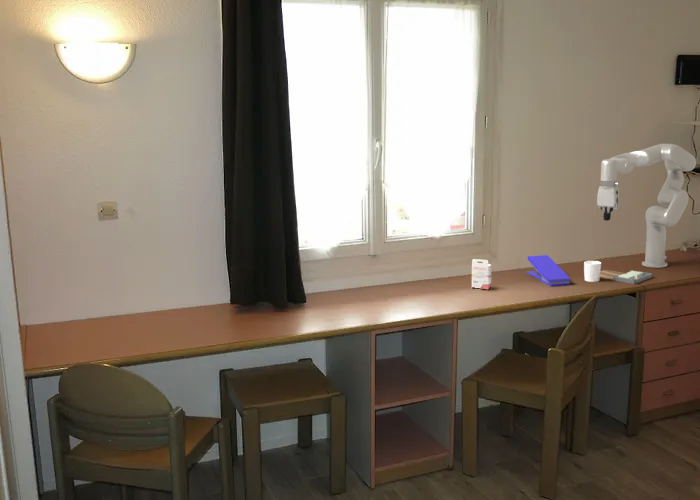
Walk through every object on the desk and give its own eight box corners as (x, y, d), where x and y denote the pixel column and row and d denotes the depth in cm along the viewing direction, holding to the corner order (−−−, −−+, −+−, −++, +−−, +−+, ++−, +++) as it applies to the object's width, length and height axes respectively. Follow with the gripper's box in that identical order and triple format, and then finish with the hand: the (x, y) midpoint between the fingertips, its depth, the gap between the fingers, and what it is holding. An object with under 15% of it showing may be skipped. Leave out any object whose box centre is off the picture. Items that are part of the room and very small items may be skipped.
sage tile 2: (632, 276, 360) (632, 270, 359) (642, 278, 356) (642, 272, 355) (626, 278, 356) (626, 272, 356) (637, 280, 352) (637, 274, 352)
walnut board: (604, 272, 372) (604, 269, 372) (629, 276, 362) (629, 273, 362) (588, 277, 362) (588, 275, 362) (613, 282, 352) (613, 279, 352)
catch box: (630, 275, 363) (630, 270, 362) (652, 279, 355) (652, 273, 354) (612, 282, 352) (613, 276, 351) (635, 286, 343) (635, 280, 343)
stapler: (545, 272, 377) (545, 254, 375) (571, 285, 350) (572, 265, 348) (524, 274, 374) (525, 255, 372) (549, 287, 347) (550, 267, 345)
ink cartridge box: (491, 288, 349) (491, 258, 346) (488, 290, 344) (488, 260, 341) (474, 286, 353) (474, 256, 350) (471, 288, 348) (471, 259, 345)
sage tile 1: (624, 279, 354) (624, 273, 354) (634, 281, 350) (634, 275, 350) (618, 281, 351) (618, 275, 350) (628, 283, 347) (629, 277, 346)
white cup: (597, 285, 348) (598, 264, 346) (581, 283, 352) (581, 263, 350) (602, 281, 354) (603, 261, 352) (586, 279, 358) (587, 260, 356)
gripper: (626, 184, 360) (624, 220, 364) (598, 182, 371) (597, 217, 375) (618, 185, 355) (617, 222, 359) (590, 183, 366) (589, 219, 370)
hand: (606, 220), depth 367 cm, fingers closed
